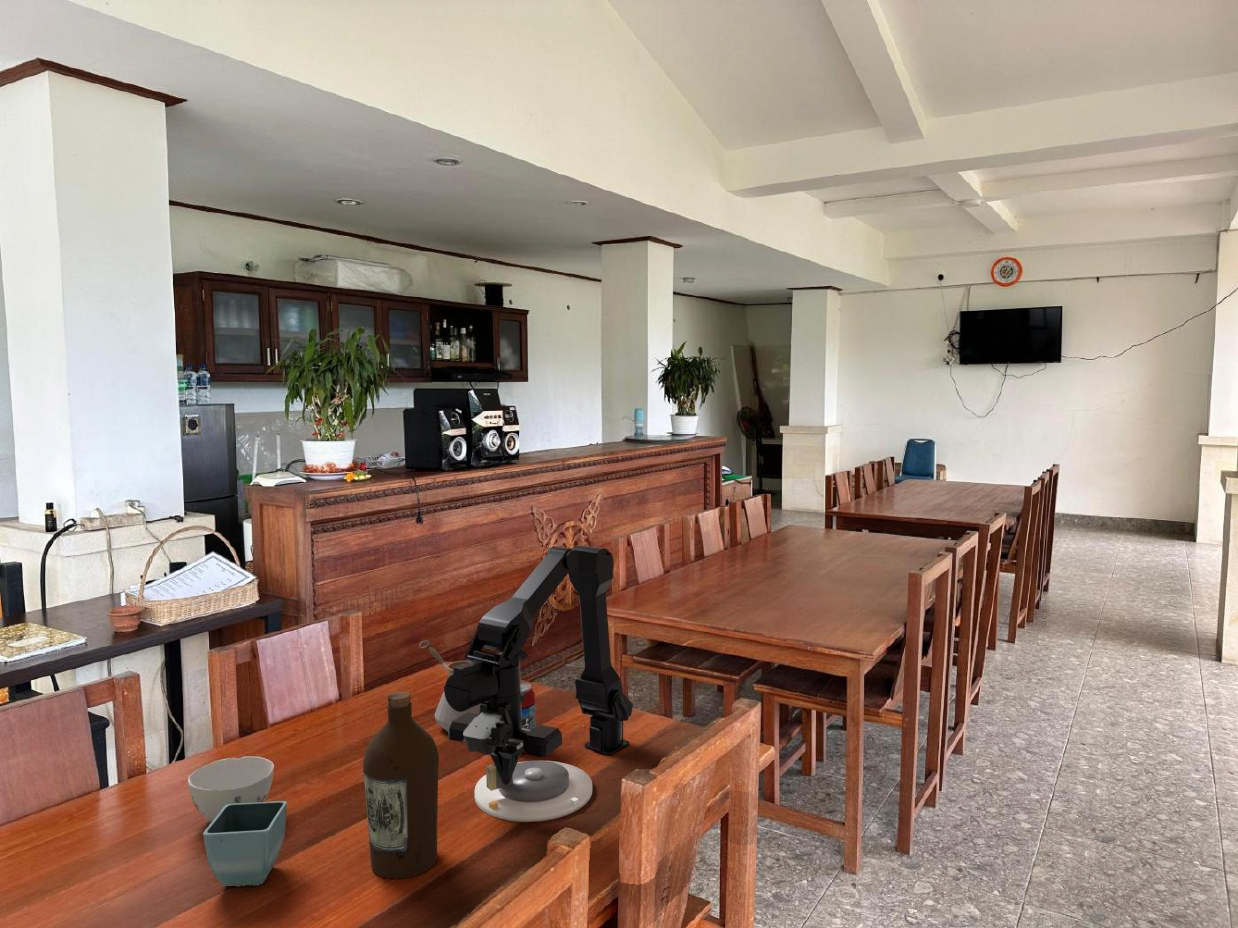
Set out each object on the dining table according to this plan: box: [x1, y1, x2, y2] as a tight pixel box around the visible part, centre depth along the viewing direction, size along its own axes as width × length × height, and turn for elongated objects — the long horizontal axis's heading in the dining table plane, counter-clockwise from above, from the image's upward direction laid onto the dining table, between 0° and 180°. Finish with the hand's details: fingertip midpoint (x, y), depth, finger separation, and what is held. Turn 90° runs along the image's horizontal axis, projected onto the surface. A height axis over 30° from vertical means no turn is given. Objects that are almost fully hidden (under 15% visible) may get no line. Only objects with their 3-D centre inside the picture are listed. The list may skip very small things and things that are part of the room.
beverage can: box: [520, 681, 537, 753], centre depth 162 cm, size 7×7×12 cm
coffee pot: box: [418, 639, 481, 733], centre depth 176 cm, size 21×12×15 cm, turn 43°
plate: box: [474, 760, 593, 823], centre depth 144 cm, size 20×20×2 cm
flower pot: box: [202, 800, 288, 887], centre depth 120 cm, size 9×9×9 cm
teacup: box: [187, 755, 275, 823], centre depth 137 cm, size 15×12×8 cm
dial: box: [485, 760, 569, 802], centre depth 144 cm, size 14×12×5 cm
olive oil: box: [362, 691, 440, 880], centre depth 123 cm, size 11×11×25 cm
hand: (506, 784), depth 139 cm, fingers closed
